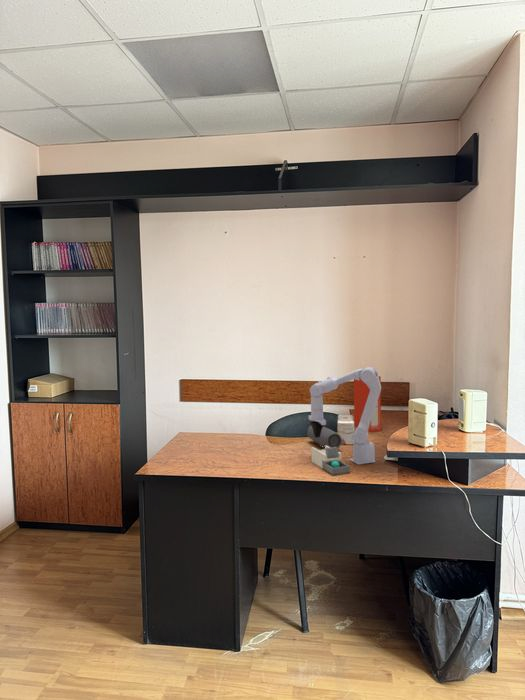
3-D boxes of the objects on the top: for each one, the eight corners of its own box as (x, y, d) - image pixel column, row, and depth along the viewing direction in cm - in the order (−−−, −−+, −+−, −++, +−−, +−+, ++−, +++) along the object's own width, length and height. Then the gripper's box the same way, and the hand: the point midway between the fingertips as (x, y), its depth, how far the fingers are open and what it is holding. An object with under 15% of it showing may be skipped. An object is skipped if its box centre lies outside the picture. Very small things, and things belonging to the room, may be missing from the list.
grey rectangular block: (335, 455, 215) (335, 446, 215) (338, 456, 214) (338, 447, 213) (325, 456, 214) (325, 448, 213) (327, 458, 212) (327, 449, 212)
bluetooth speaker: (306, 442, 259) (305, 423, 258) (321, 440, 262) (321, 422, 262) (326, 453, 238) (326, 433, 237) (342, 450, 241) (342, 431, 240)
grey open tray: (340, 467, 215) (340, 460, 215) (349, 473, 207) (349, 466, 207) (323, 469, 212) (323, 463, 212) (332, 475, 205) (332, 468, 205)
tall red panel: (368, 432, 277) (368, 377, 274) (353, 425, 293) (353, 373, 291) (381, 431, 279) (380, 376, 277) (365, 424, 296) (365, 373, 293)
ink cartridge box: (337, 444, 252) (337, 417, 251) (337, 442, 257) (337, 415, 256) (354, 444, 251) (354, 417, 250) (353, 442, 256) (353, 415, 255)
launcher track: (326, 459, 227) (326, 445, 227) (341, 468, 214) (341, 453, 214) (311, 461, 225) (311, 447, 224) (325, 470, 211) (325, 455, 211)
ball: (337, 467, 213) (337, 459, 213) (341, 469, 210) (340, 461, 210) (329, 468, 212) (329, 460, 212) (333, 471, 209) (333, 462, 208)
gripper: (302, 406, 233) (303, 434, 234) (316, 412, 220) (316, 441, 221) (315, 405, 236) (316, 432, 237) (330, 411, 222) (330, 439, 223)
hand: (317, 437), depth 229 cm, fingers closed
